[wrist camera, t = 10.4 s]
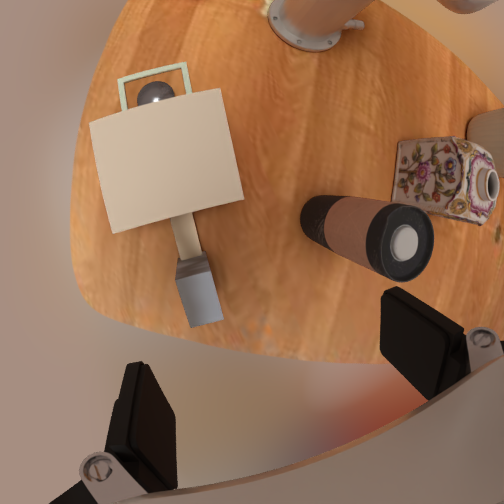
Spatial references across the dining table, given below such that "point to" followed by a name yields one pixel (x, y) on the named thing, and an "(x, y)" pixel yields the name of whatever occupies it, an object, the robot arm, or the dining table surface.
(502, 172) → the canister
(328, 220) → the travel mug
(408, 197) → the decorative jar
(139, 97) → the ball
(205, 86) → the dining table surface
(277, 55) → the dining table surface
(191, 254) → the grey block on stick
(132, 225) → the white open box
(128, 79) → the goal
